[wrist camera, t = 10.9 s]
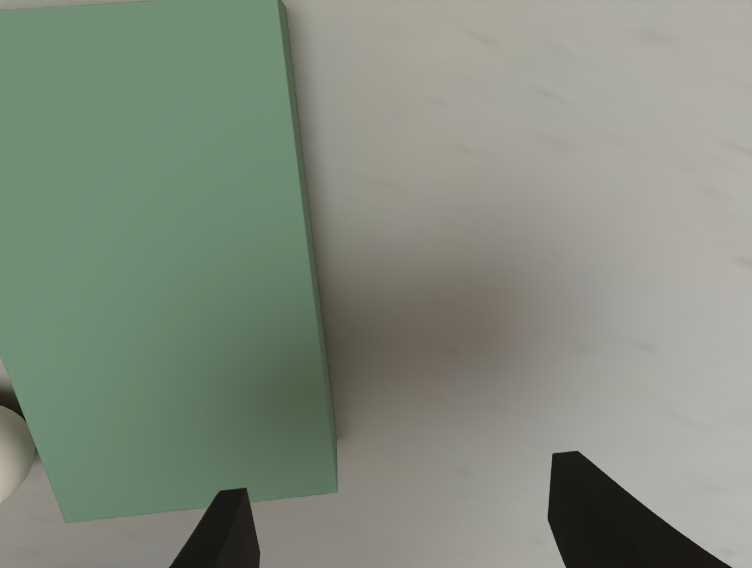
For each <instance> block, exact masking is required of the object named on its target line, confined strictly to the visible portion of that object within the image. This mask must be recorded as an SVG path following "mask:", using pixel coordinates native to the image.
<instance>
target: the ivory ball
mask: <svg viewBox="0 0 752 568" xmlns="http://www.w3.org/2000/svg"><path fill="white" fill-rule="evenodd" d="M34 455H35V443H34V440H33V438H32V435H31V433H30V430H29V427H28V425H27V423H26V422H25V421H24V420H23V418H22V417H20V416H19V415H18V414H17V413H15V412H14V411H12V410H10V409H8V408H6V407H3V406H0V503H1V502H2V501H4V500H5V499H6V498H8V497H9V496H10V495H11V494H12V493H14V492H15V491H16V490H17V489H18V487H19V486H20V485H21V484H22V483H23V481H24V480H25V478H26V477H27V475H28V473H29V471H30V469H31V467H32V464H33V460H34Z"/></svg>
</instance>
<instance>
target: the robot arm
mask: <svg viewBox="0 0 752 568" xmlns="http://www.w3.org/2000/svg"><path fill="white" fill-rule="evenodd" d="M548 522H549V524H550V527H551V530H552V533H553V535H554V538H555V541H556V544H557V546H558V549H559V551H560V554H561V557H562V559H563V562H564V564H565V566H566V568H732V567H730V566H729V565H727V564H725V563H724V562H722V561H721V560H719V559H718V558H716V557H715V556H713V555H712V554H710V553H709V552H707V551H706V550H704V549H703V548H701V547H700V546H698V545H697V544H696V543H694V542H693V541H691V540H690V539H689V538H687V537H686V536H684V535H683V534H682V533H680V532H679V531H677V530H676V529H675V528H673V527H672V526H671V525H669V524H668V523H667V522H665V521H664V520H663V519H661V518H660V517H659V516H657V515H656V514H655V513H653V512H652V511H651V510H650V509H648V508H647V507H646V506H644V505H643V504H642V503H641V502H639V501H638V500H637V499H636V498H634V497H633V496H632V495H631V494H629V493H628V492H627V491H626V490H624V489H623V488H622V487H621V486H620V485H618V484H617V483H616V482H615V481H613V480H612V479H611V478H610V477H609V476H607V475H606V474H605V473H604V472H603V471H601V470H600V469H599V468H598V467H597V466H596V465H594V464H593V463H592V462H591V461H590V460H588V459H587V458H586V457H585V456H583V455H582V454H581V453H580V452H579V451H571V452H562V453H553V454H552V467H551V480H550V494H549V507H548ZM259 562H260V550H259V545H258V540H257V535H256V530H255V525H254V521H253V516H252V511H251V506H250V501H249V496H248V492H247V488H238V489H229V490H220V491H219V492H218V493H217V494H216V496H215V497H214V499H213V501H212V502H211V504H210V506H209V507H208V509H207V511H206V512H205V514H204V516H203V517H202V519H201V520H200V522H199V524H198V525H197V527H196V528H195V530H194V531H193V533H192V535H191V536H190V538H189V539H188V541H187V542H186V544H185V545H184V547H183V548H182V550H181V551H180V553H179V554H178V556H177V557H176V559H175V560H174V562H173V563H172V564H171V566H170V567H169V568H259Z"/></svg>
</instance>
